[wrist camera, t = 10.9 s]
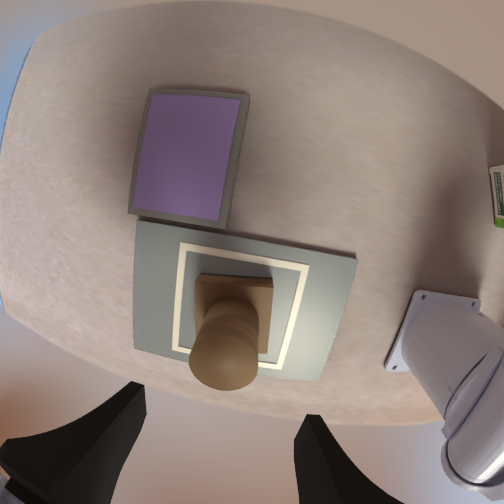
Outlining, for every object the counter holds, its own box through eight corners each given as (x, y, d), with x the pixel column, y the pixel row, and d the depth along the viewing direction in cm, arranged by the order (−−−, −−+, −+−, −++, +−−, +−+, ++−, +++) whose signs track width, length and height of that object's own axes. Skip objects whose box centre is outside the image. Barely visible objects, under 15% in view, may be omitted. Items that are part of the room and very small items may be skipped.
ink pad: (250, 100, 17) (249, 94, 15) (227, 226, 19) (224, 230, 17) (155, 93, 17) (148, 87, 15) (134, 211, 19) (126, 213, 17)
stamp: (272, 277, 19) (278, 326, 12) (266, 339, 20) (268, 402, 13) (201, 272, 19) (171, 317, 12) (201, 334, 20) (178, 393, 13)
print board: (356, 258, 19) (359, 260, 18) (317, 378, 22) (318, 382, 21) (140, 219, 19) (136, 220, 18) (136, 345, 21) (133, 348, 21)
